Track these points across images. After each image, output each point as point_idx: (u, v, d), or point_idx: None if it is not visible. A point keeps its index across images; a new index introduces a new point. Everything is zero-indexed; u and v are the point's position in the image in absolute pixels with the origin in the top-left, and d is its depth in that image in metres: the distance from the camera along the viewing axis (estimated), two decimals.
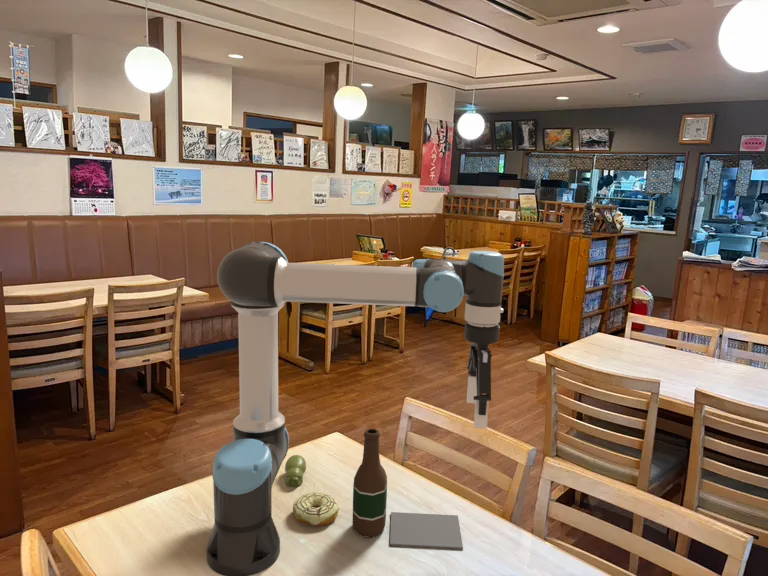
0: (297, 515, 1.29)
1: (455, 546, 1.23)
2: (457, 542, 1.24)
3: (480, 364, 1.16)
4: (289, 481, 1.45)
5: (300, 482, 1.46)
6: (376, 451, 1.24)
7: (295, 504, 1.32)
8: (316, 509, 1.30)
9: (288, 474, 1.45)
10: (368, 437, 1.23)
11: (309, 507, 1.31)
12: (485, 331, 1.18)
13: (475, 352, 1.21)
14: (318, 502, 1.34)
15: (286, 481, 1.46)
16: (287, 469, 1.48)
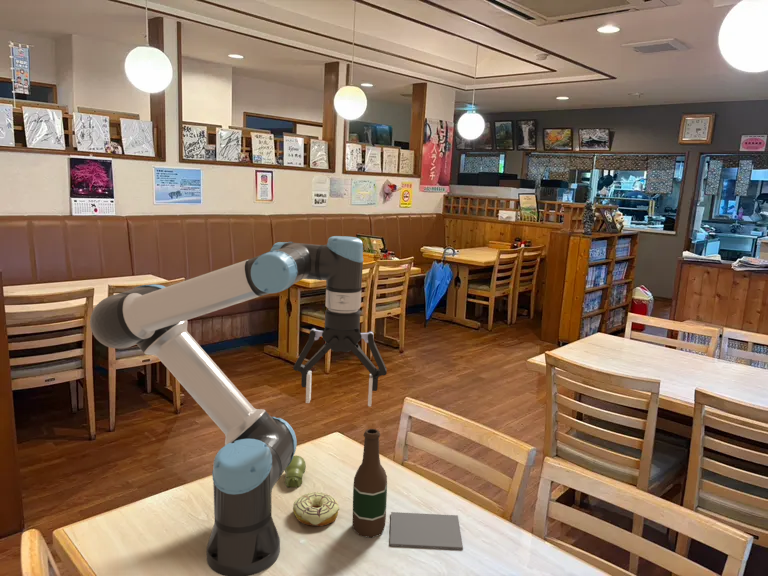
0: (297, 515, 1.29)
1: (455, 546, 1.23)
2: (457, 542, 1.24)
3: None
4: (289, 482, 1.44)
5: (300, 483, 1.46)
6: (376, 451, 1.24)
7: (295, 504, 1.32)
8: (316, 509, 1.30)
9: (288, 475, 1.45)
10: (368, 437, 1.23)
11: (309, 507, 1.31)
12: (325, 312, 1.20)
13: None
14: (319, 502, 1.34)
15: (286, 482, 1.46)
16: (287, 470, 1.47)
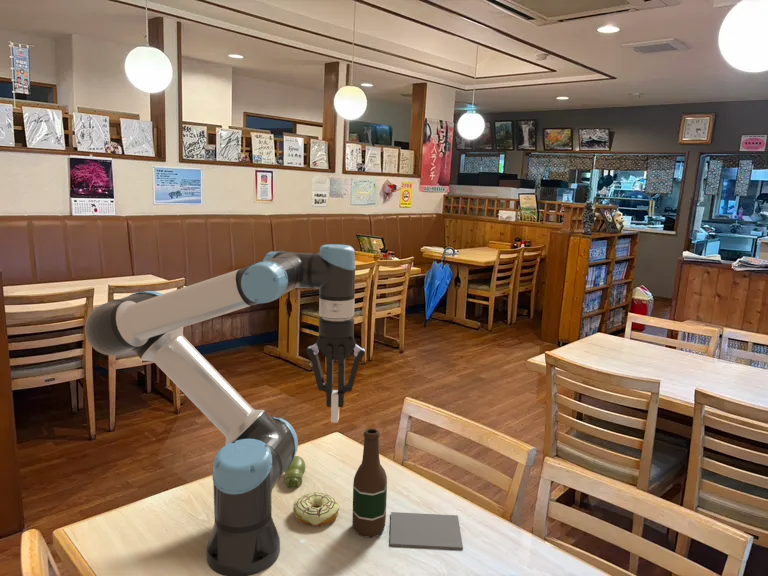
0: (297, 515, 1.29)
1: (455, 546, 1.23)
2: (457, 542, 1.24)
3: None
4: (289, 482, 1.44)
5: (300, 483, 1.46)
6: (376, 451, 1.24)
7: (295, 504, 1.32)
8: (316, 509, 1.30)
9: (288, 475, 1.45)
10: (368, 437, 1.23)
11: (309, 507, 1.30)
12: (319, 320, 1.20)
13: None
14: (319, 502, 1.34)
15: (286, 482, 1.45)
16: (286, 470, 1.47)
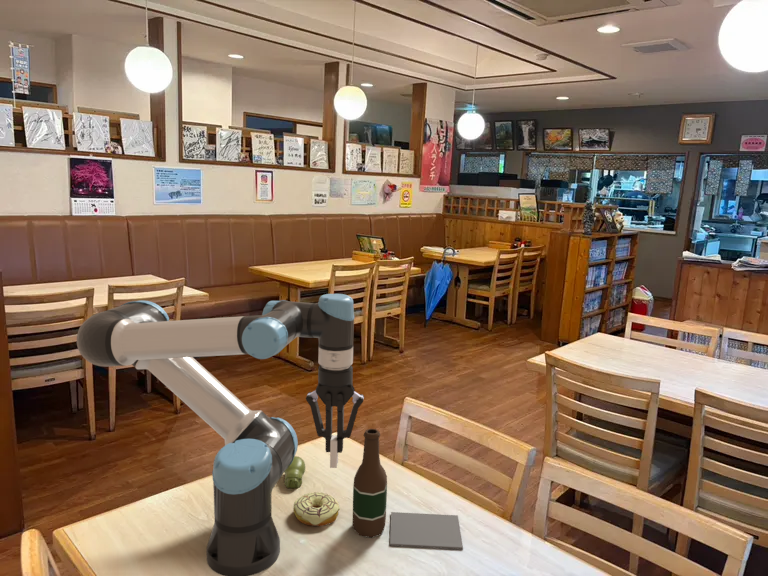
0: (297, 515, 1.29)
1: (455, 546, 1.23)
2: (457, 542, 1.24)
3: None
4: (289, 483, 1.44)
5: (300, 483, 1.45)
6: (376, 451, 1.24)
7: (296, 504, 1.32)
8: (316, 509, 1.30)
9: (287, 476, 1.45)
10: (368, 437, 1.23)
11: (309, 507, 1.30)
12: (318, 368, 1.22)
13: None
14: (319, 502, 1.34)
15: (285, 483, 1.45)
16: (286, 470, 1.47)
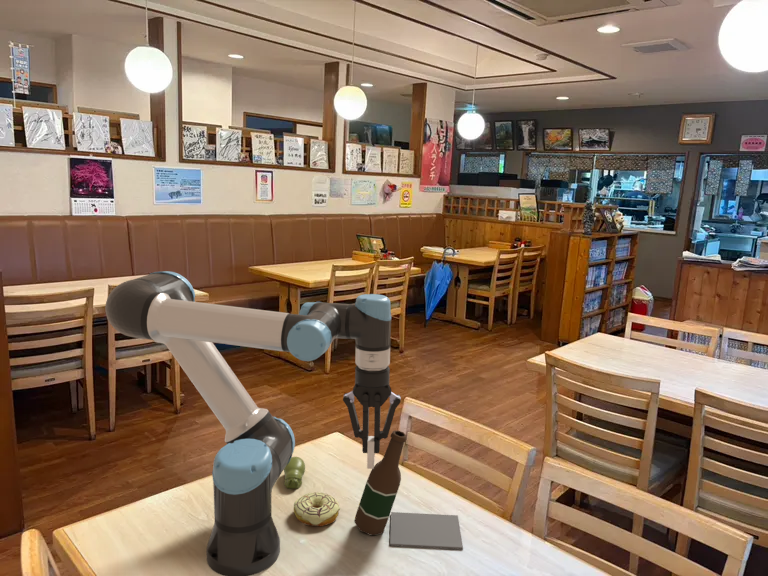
0: (298, 515, 1.29)
1: (455, 546, 1.23)
2: (457, 542, 1.24)
3: None
4: (288, 483, 1.44)
5: (299, 484, 1.45)
6: (399, 454, 1.24)
7: (296, 504, 1.32)
8: (317, 509, 1.30)
9: (287, 476, 1.45)
10: (395, 439, 1.22)
11: (310, 507, 1.30)
12: (355, 369, 1.22)
13: None
14: (319, 502, 1.34)
15: (285, 483, 1.45)
16: (286, 471, 1.47)
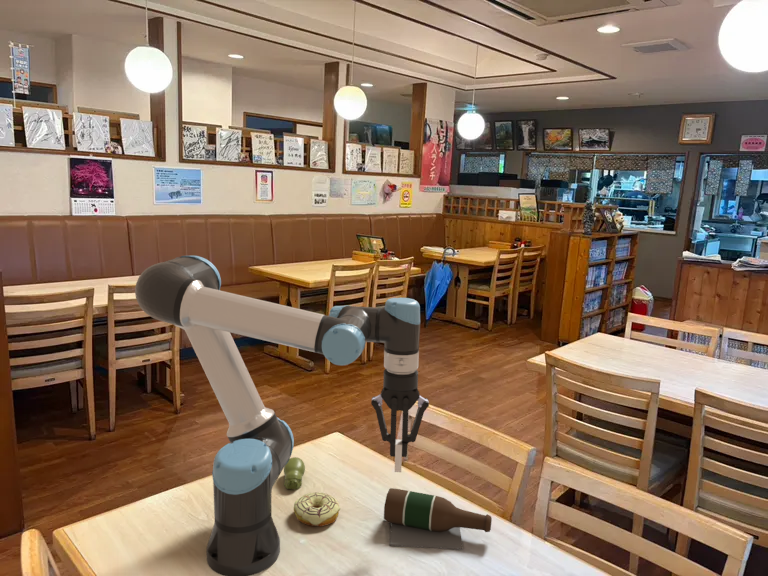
0: (298, 515, 1.29)
1: (455, 546, 1.23)
2: (457, 542, 1.24)
3: None
4: (288, 484, 1.43)
5: (299, 485, 1.45)
6: (471, 525, 1.25)
7: (296, 504, 1.32)
8: (317, 509, 1.30)
9: (287, 477, 1.44)
10: (487, 519, 1.24)
11: (310, 507, 1.30)
12: None
13: None
14: (319, 502, 1.34)
15: (285, 484, 1.45)
16: (286, 472, 1.46)
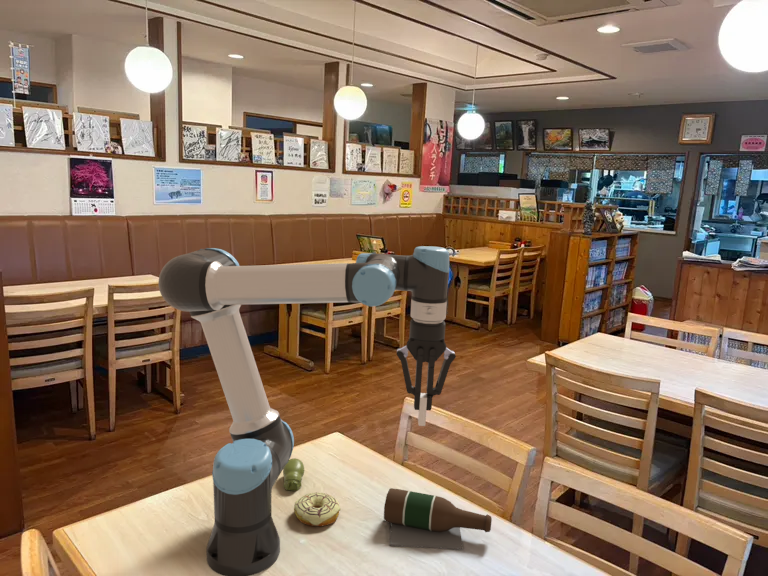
0: (298, 515, 1.29)
1: (455, 546, 1.23)
2: (457, 542, 1.24)
3: None
4: (288, 485, 1.43)
5: (299, 486, 1.44)
6: (471, 525, 1.25)
7: (296, 504, 1.32)
8: (317, 509, 1.30)
9: (287, 478, 1.44)
10: (487, 519, 1.24)
11: (310, 507, 1.30)
12: (410, 323, 1.19)
13: None
14: (320, 503, 1.34)
15: (285, 485, 1.44)
16: (285, 473, 1.46)
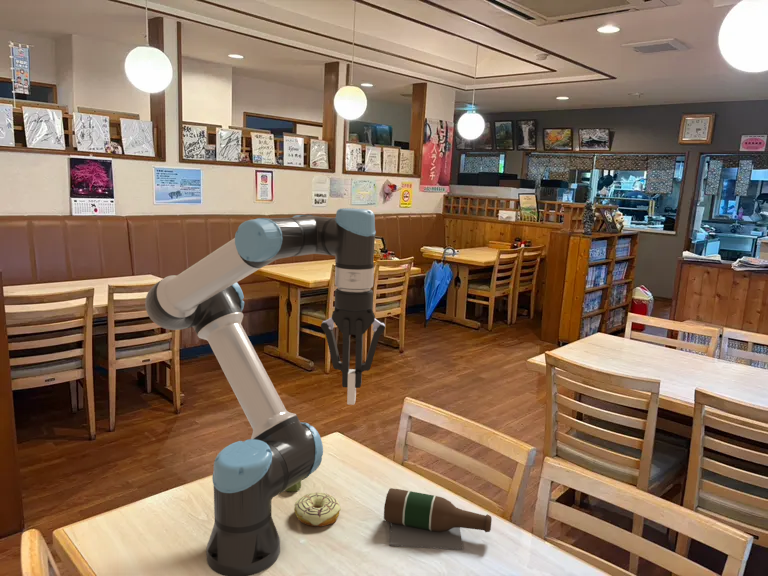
0: (298, 515, 1.29)
1: (455, 546, 1.23)
2: (457, 542, 1.24)
3: None
4: None
5: (299, 487, 1.44)
6: (471, 525, 1.25)
7: (297, 504, 1.32)
8: (317, 509, 1.30)
9: None
10: (487, 519, 1.24)
11: (310, 507, 1.30)
12: None
13: None
14: (320, 503, 1.34)
15: None
16: None
